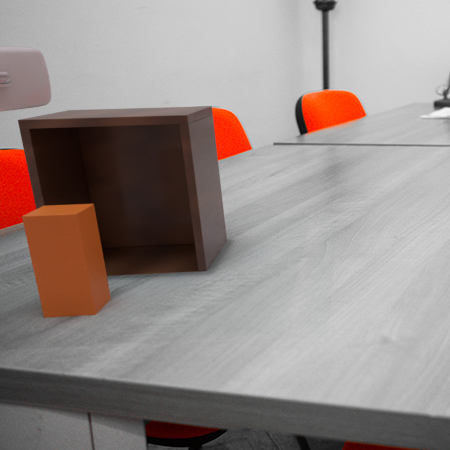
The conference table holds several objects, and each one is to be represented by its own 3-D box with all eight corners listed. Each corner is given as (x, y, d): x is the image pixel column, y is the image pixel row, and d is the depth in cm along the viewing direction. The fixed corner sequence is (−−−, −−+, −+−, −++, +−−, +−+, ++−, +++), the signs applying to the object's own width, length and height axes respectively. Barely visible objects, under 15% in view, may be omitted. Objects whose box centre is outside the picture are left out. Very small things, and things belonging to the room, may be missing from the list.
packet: (46, 330, 57) (21, 216, 54) (65, 313, 61) (42, 205, 58) (97, 327, 58) (76, 213, 54) (113, 311, 62) (94, 203, 58)
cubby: (53, 290, 68) (17, 119, 62) (95, 256, 79) (69, 110, 73) (208, 282, 69) (187, 114, 63) (228, 250, 80) (211, 106, 75)
